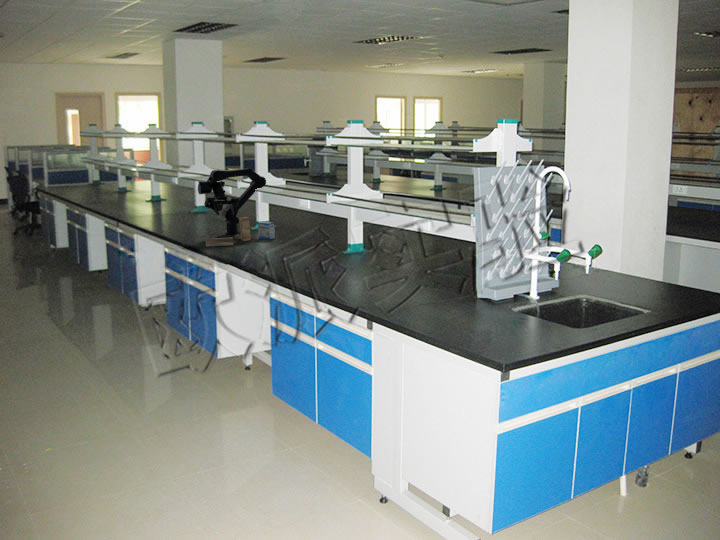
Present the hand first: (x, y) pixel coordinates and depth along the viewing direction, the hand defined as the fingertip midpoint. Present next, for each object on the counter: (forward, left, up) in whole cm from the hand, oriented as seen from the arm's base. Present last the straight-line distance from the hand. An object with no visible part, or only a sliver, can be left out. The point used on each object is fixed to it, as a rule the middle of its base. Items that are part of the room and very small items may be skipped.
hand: (226, 214), depth 372 cm
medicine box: (-8, +20, -13) cm, 25 cm away
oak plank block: (0, +12, -13) cm, 18 cm away
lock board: (+13, +5, -13) cm, 19 cm away
